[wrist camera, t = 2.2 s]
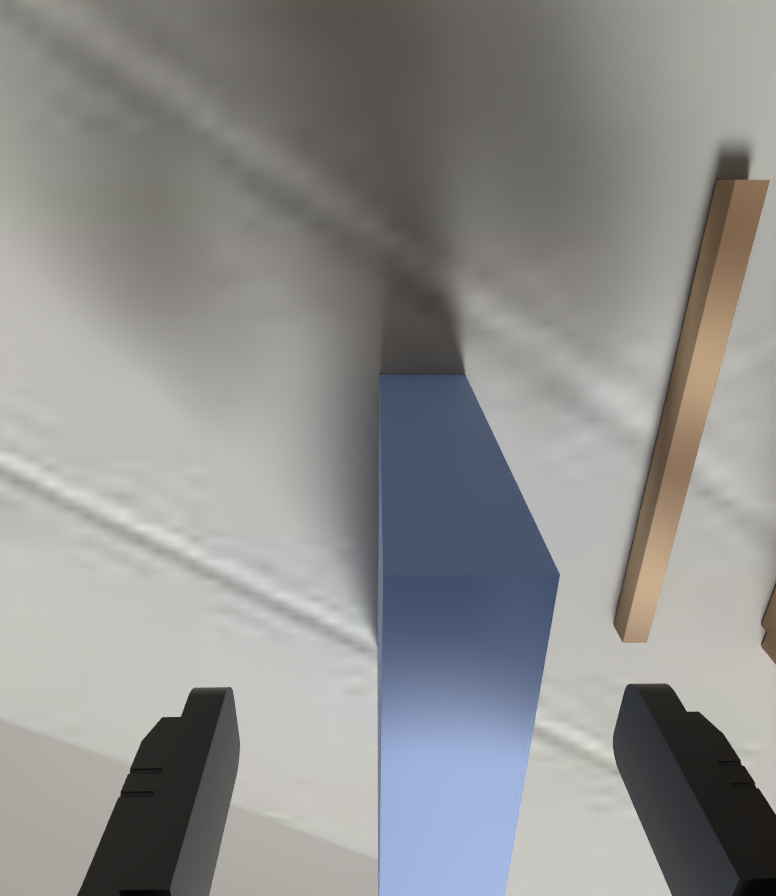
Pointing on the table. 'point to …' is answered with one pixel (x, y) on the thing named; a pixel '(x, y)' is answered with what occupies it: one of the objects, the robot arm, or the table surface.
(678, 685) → the table surface
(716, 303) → the cabinet
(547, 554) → the blue rectangular block
